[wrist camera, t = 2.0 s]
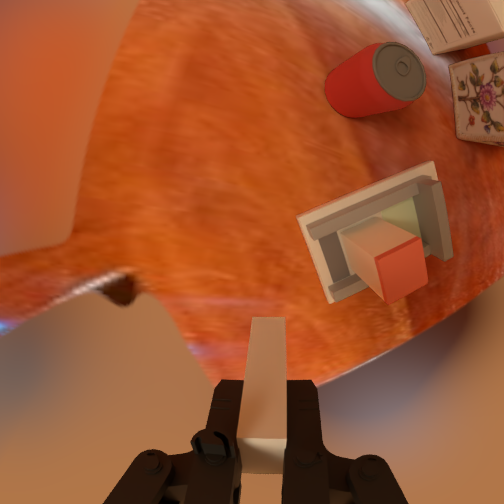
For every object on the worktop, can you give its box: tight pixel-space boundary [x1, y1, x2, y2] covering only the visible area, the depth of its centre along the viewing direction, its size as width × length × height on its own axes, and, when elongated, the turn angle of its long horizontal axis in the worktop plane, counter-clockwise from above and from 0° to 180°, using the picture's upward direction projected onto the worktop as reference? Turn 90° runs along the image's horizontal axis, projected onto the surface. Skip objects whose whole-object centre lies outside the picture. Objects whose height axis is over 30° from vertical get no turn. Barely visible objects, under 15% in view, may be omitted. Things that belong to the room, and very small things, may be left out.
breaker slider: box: [340, 216, 428, 305], centre depth 31 cm, size 5×5×10 cm
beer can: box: [325, 42, 426, 118], centre depth 25 cm, size 7×7×12 cm
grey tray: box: [296, 160, 453, 304], centre depth 34 cm, size 20×12×6 cm, turn 113°
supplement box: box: [405, 0, 504, 55], centre depth 21 cm, size 9×9×15 cm
